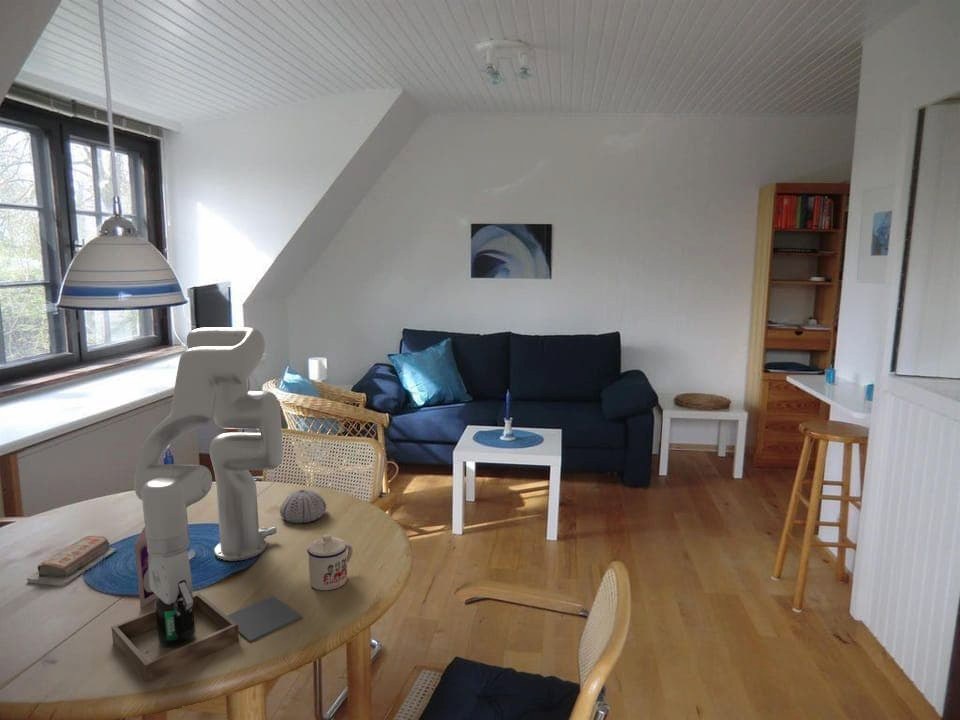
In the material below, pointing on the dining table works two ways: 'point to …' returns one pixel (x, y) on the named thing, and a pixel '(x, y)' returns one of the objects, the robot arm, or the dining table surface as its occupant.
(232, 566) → the dining table surface
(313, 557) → the teacup with lid
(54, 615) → the dining table surface
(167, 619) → the supplement bottle
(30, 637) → the dining table surface
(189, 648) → the walnut box
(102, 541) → the packaged product
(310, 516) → the sea urchin shell
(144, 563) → the greeting card
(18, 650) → the dining table surface
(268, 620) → the charcoal mat
